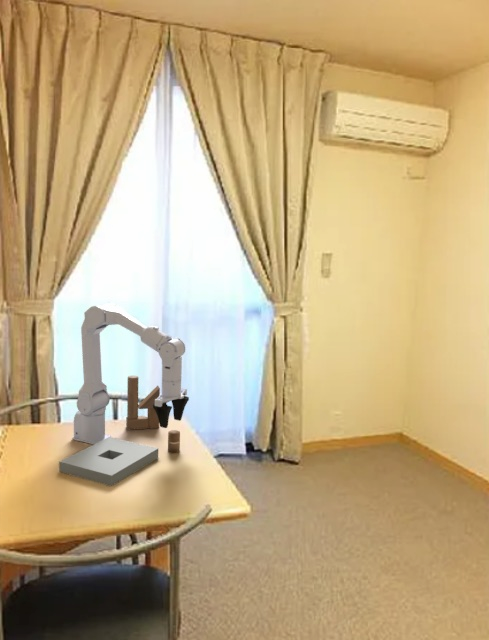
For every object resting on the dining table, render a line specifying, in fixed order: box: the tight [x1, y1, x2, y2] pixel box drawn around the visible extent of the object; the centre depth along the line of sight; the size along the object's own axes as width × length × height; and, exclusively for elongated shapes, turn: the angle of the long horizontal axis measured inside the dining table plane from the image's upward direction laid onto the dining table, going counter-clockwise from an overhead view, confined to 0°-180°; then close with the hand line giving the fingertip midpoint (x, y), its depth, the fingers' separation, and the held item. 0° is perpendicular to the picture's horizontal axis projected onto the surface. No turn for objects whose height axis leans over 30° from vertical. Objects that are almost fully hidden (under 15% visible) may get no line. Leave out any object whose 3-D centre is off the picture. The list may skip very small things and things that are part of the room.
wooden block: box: [125, 375, 161, 431], centre depth 199 cm, size 4×11×18 cm, turn 108°
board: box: [58, 436, 159, 487], centre depth 170 cm, size 18×22×3 cm
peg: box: [167, 429, 181, 454], centre depth 181 cm, size 4×4×6 cm
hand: (170, 423), depth 177 cm, fingers open, 7 cm apart
